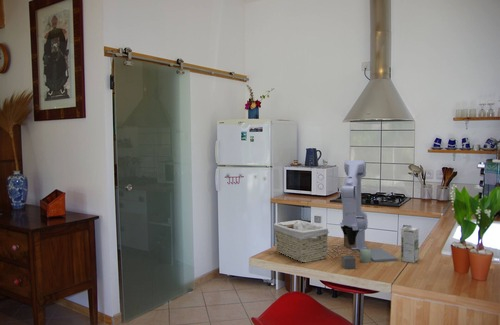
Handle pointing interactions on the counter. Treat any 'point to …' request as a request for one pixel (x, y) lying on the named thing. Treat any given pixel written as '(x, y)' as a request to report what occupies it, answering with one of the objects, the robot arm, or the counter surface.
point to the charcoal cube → (348, 262)
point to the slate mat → (381, 255)
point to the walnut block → (346, 242)
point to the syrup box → (409, 244)
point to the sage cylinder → (365, 255)
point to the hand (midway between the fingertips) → (349, 243)
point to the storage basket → (301, 240)
